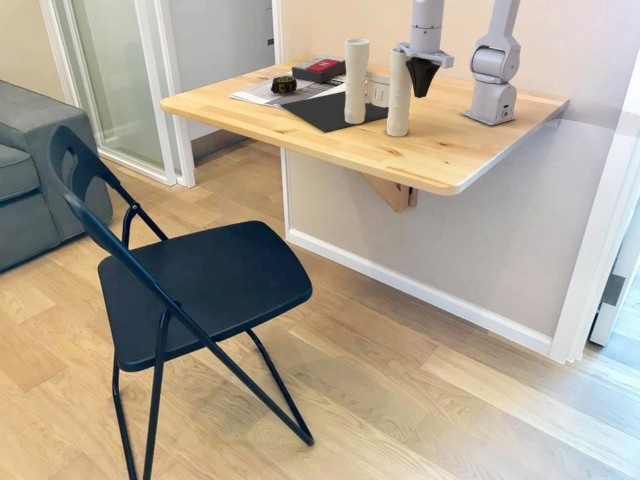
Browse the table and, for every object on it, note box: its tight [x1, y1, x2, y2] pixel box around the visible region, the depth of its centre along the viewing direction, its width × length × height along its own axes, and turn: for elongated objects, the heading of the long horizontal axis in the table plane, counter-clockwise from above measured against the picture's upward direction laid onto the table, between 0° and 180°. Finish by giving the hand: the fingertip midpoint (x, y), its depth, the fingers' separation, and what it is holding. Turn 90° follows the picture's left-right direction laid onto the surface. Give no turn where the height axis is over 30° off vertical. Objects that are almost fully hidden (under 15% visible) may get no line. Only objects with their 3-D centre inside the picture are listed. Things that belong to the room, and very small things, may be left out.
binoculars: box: [344, 37, 413, 137], centre depth 116 cm, size 17×5×18 cm, turn 51°
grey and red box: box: [291, 53, 346, 84], centre depth 157 cm, size 11×4×15 cm
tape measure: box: [270, 75, 298, 94], centre depth 143 cm, size 7×7×4 cm
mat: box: [279, 90, 389, 133], centre depth 132 cm, size 22×23×1 cm
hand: (420, 96), depth 107 cm, fingers closed
